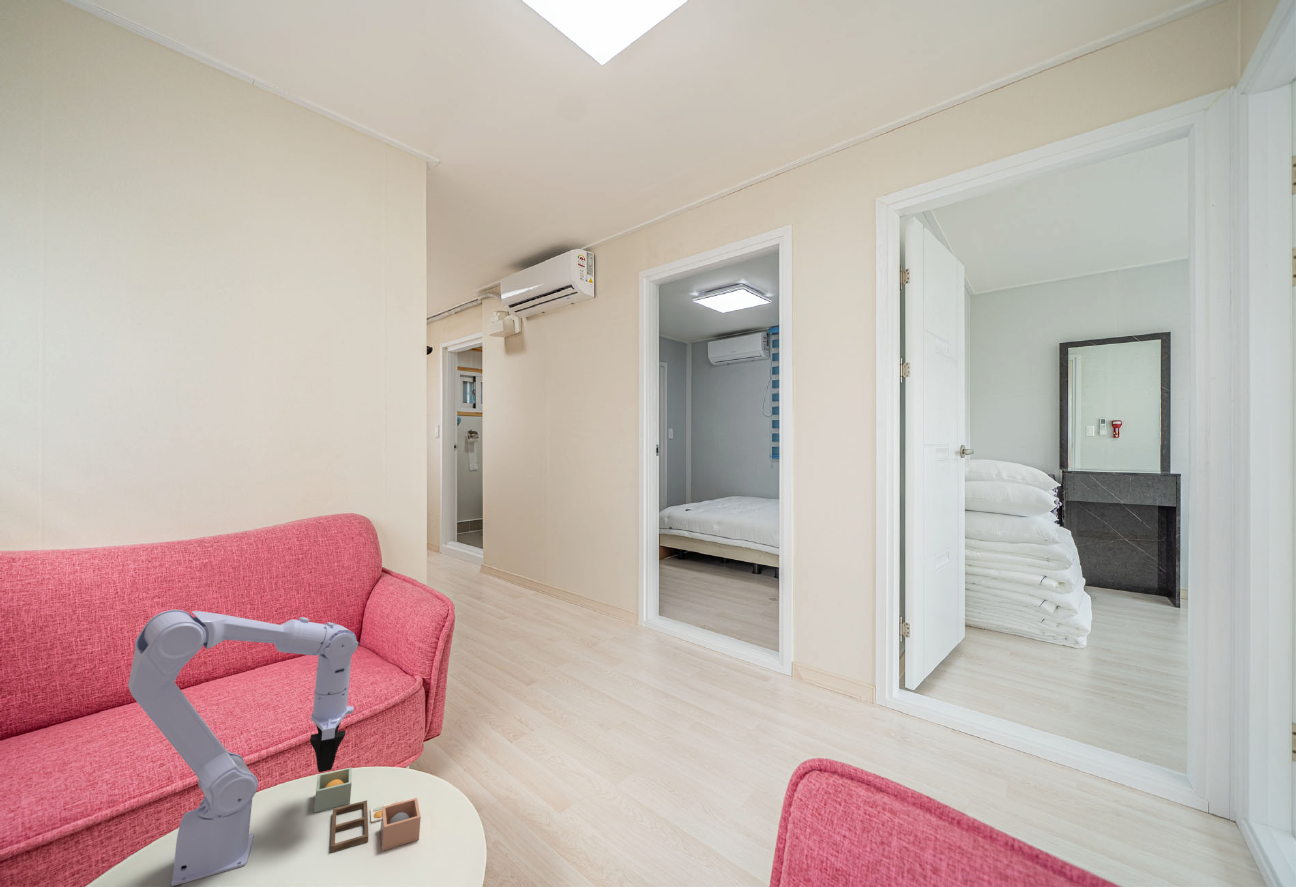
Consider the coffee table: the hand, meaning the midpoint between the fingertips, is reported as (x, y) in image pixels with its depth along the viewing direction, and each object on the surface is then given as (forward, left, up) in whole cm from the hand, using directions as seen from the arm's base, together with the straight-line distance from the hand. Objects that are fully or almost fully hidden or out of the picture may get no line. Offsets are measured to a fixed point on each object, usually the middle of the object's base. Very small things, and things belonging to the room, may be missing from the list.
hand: (325, 759), depth 97 cm
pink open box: (+13, -13, -10) cm, 21 cm away
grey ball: (+13, -13, -8) cm, 20 cm away
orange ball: (+2, +4, -8) cm, 9 cm away
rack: (+5, -7, -10) cm, 13 cm away
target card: (+11, -5, -10) cm, 16 cm away
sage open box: (+2, +4, -10) cm, 11 cm away
